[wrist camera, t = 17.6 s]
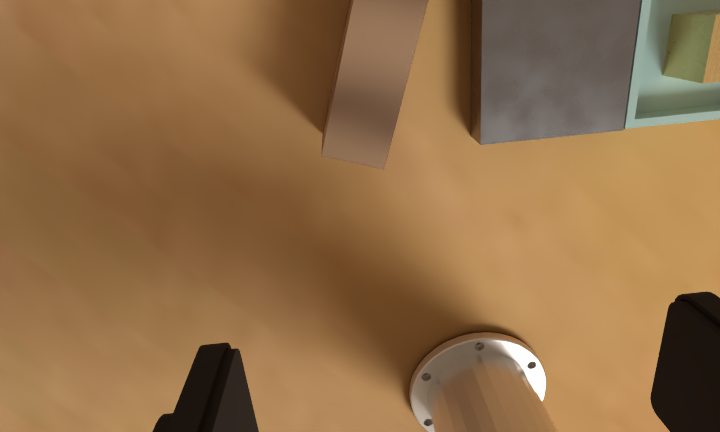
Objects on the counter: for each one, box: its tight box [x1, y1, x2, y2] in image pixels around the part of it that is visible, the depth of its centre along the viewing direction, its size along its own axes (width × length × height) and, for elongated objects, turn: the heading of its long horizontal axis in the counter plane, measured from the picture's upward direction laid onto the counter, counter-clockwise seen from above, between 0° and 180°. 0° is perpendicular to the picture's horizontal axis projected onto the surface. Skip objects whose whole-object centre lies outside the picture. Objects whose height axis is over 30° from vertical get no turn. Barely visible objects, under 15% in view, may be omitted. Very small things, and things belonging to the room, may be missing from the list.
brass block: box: [662, 9, 720, 83], centre depth 31 cm, size 4×4×4 cm
